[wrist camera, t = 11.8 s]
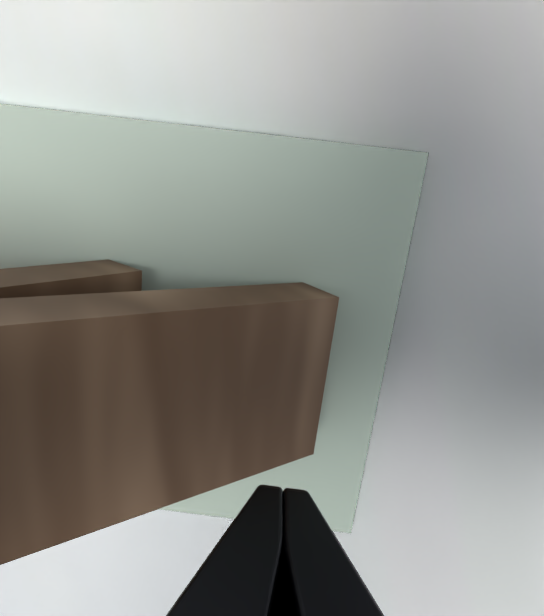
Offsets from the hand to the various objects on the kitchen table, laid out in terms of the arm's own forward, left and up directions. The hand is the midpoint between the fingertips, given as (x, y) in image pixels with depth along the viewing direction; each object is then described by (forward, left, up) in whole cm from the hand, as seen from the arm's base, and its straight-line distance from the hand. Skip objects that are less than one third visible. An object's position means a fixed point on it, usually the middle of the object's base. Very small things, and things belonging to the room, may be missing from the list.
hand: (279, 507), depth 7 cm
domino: (-1, 0, -6) cm, 6 cm away
